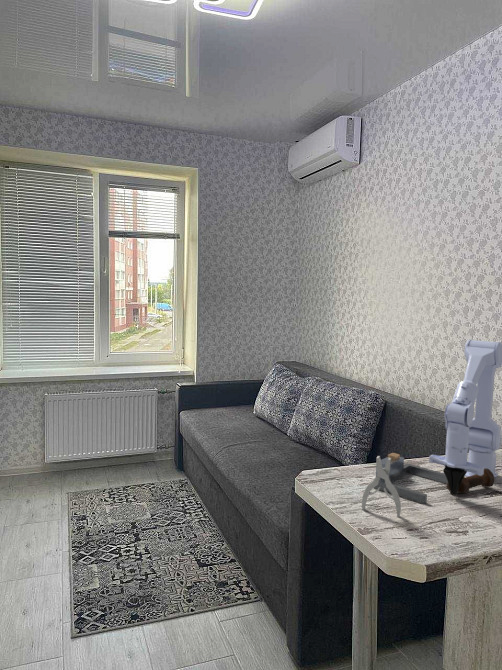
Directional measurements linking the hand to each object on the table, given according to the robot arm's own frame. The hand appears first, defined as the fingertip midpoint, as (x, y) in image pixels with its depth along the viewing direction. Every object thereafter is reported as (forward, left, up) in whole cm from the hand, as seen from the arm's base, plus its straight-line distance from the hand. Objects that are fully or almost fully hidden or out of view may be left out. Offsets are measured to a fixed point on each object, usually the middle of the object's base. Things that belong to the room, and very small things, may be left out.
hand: (453, 493), depth 144 cm
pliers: (+24, -9, -2) cm, 26 cm away
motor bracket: (0, -10, -1) cm, 10 cm away
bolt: (-2, -2, 0) cm, 3 cm away
